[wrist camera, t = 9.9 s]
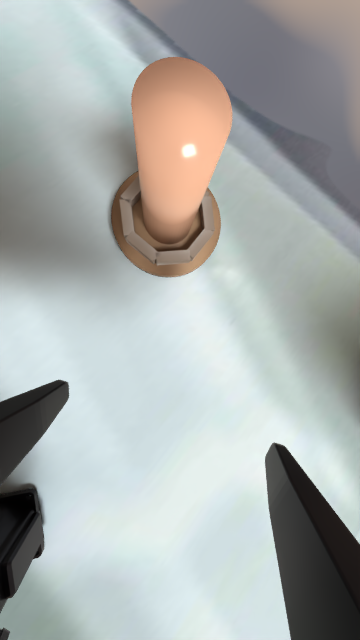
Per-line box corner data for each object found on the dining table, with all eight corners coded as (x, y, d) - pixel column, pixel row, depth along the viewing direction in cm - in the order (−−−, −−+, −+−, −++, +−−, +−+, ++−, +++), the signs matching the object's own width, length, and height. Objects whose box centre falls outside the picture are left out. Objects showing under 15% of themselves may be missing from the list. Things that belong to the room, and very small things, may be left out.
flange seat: (120, 281, 20) (116, 277, 18) (107, 173, 20) (102, 157, 18) (222, 272, 21) (229, 268, 19) (211, 171, 21) (217, 156, 19)
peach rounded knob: (178, 253, 20) (204, 180, 9) (135, 228, 19) (112, 122, 9) (199, 212, 20) (248, 97, 10) (157, 187, 19) (161, 35, 9)
